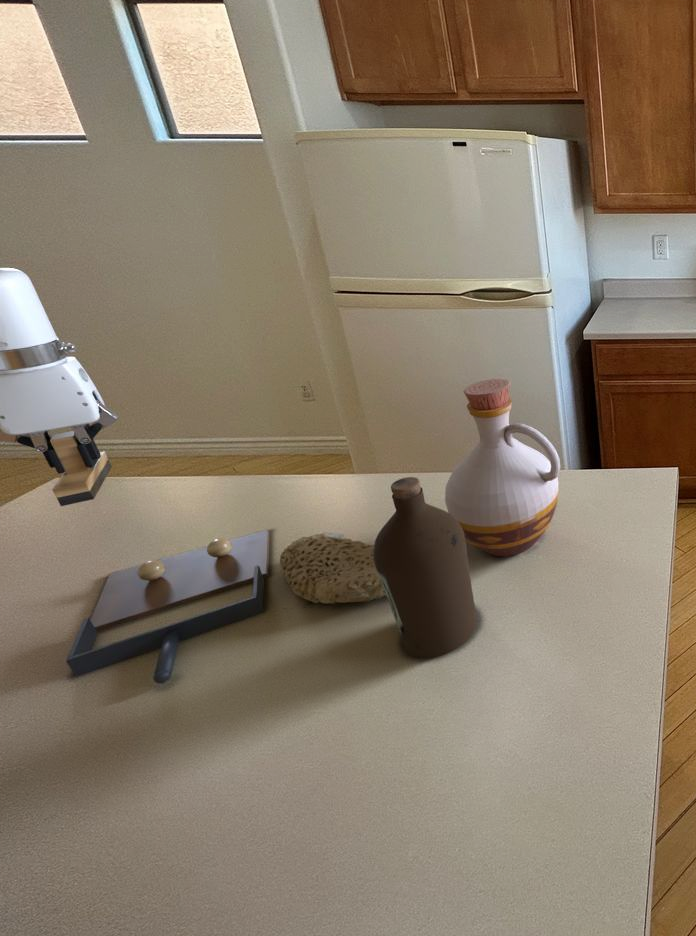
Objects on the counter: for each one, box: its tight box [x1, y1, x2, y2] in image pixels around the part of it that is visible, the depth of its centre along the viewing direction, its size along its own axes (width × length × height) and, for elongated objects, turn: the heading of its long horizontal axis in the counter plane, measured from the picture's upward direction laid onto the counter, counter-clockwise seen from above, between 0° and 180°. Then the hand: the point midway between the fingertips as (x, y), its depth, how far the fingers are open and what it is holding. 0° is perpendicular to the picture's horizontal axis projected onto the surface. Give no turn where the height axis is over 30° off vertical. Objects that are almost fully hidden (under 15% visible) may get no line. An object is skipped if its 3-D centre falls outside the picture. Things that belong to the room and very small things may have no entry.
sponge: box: [279, 532, 387, 605], centre depth 86 cm, size 13×8×20 cm
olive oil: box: [373, 476, 478, 659], centre depth 73 cm, size 11×11×25 cm
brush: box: [50, 430, 113, 507], centre depth 86 cm, size 12×4×9 cm, turn 36°
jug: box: [444, 378, 561, 557], centre depth 91 cm, size 20×18×30 cm
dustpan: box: [65, 565, 265, 684], centre depth 75 cm, size 17×19×3 cm
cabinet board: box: [90, 528, 271, 632], centre depth 87 cm, size 20×14×1 cm
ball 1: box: [138, 559, 165, 581], centre depth 85 cm, size 3×3×3 cm
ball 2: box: [207, 538, 232, 557], centre depth 91 cm, size 3×3×3 cm
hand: (78, 465), depth 87 cm, fingers closed on brush, 2 cm apart
